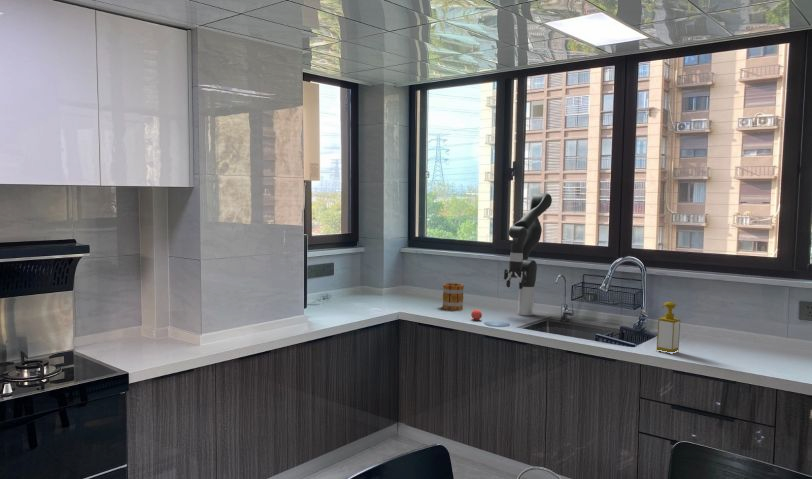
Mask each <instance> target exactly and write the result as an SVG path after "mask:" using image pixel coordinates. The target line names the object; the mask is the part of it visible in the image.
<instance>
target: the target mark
mask: <svg viewBox="0 0 812 479" xmlns="http://www.w3.org/2000/svg"><path fill="white" fill-rule="evenodd" d="M483 324H484V325H485V326H489V327H498V328H503V327H505V328H506V327H509V326H510V323H509V322H504V321H499V320H496V321H495V320H488V321H484V322H483Z"/></svg>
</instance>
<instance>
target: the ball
mask: <svg viewBox="0 0 812 479" xmlns="http://www.w3.org/2000/svg"><path fill="white" fill-rule="evenodd" d="M482 315H483V313H482V311H481V309H477V308H476V309H473V310H472V311H471V318H472V320H475V321H479V320H480V319H482V317H483V316H482Z"/></svg>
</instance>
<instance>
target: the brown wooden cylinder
mask: <svg viewBox="0 0 812 479" xmlns="http://www.w3.org/2000/svg"><path fill="white" fill-rule="evenodd" d="M442 286H443V289H442V307H441V308H442V309H443V310H446V311H463V310H464V308H463V306H464V304H463V303H464V286H465V285H464V284H463V283H456V282H455V283H453V282H452V283H450V282H447V283H443V284H442ZM462 309H463V310H462Z"/></svg>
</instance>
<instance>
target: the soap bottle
mask: <svg viewBox="0 0 812 479" xmlns="http://www.w3.org/2000/svg"><path fill="white" fill-rule="evenodd" d="M676 306H677V303H675V302H672V301H667V302H664V304H663V306H661V308H662V309H663V308H666V309H667V312H665V316H662V317H659V318H657V319H658V321H657V322H658V323H657V338H656V339H657V340H656V351H657V350H662V351H667V352H675V351H677V350H678V351H679V350H680V349H679V347H680V334H681V333H680V331H681V330H680V329H681V318H675V313H673V309H675V308H676Z"/></svg>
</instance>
